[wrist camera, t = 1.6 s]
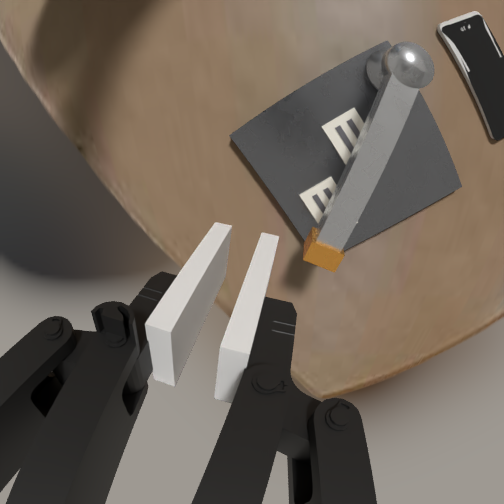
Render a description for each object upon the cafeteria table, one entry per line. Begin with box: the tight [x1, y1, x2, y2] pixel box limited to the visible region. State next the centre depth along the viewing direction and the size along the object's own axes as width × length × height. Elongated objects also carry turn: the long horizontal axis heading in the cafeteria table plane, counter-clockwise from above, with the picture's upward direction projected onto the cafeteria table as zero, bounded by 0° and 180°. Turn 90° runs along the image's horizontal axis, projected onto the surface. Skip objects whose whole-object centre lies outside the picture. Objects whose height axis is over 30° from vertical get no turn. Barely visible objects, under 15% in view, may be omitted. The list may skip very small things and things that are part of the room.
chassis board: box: [229, 41, 462, 250], centre depth 26 cm, size 18×20×6 cm
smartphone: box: [437, 11, 504, 140], centre depth 19 cm, size 8×1×15 cm
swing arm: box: [303, 42, 434, 273], centre depth 22 cm, size 22×4×3 cm, turn 161°
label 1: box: [321, 108, 364, 164], centre depth 27 cm, size 6×4×1 cm, turn 36°
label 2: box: [299, 177, 358, 224], centre depth 31 cm, size 6×4×1 cm, turn 36°
